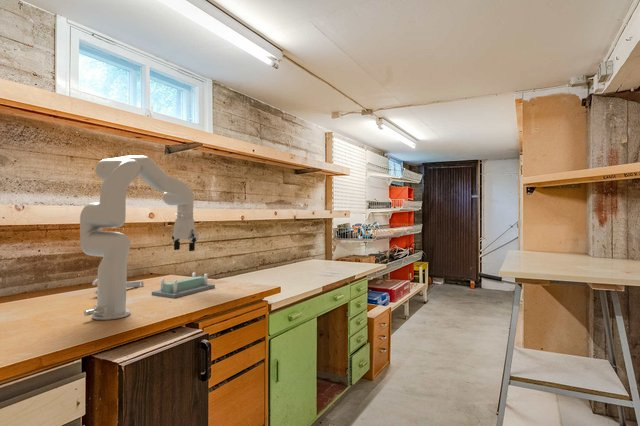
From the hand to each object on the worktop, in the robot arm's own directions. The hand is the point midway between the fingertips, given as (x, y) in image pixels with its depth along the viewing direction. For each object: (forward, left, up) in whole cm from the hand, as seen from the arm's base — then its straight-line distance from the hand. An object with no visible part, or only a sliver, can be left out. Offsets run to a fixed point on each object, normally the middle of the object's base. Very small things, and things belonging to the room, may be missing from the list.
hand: (184, 250), depth 185 cm
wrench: (-14, +27, -21) cm, 37 cm away
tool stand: (+1, 0, -20) cm, 20 cm away
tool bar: (+1, 0, -19) cm, 19 cm away
